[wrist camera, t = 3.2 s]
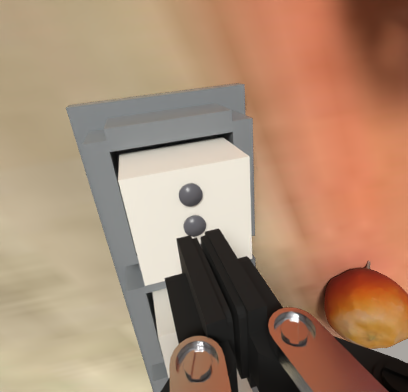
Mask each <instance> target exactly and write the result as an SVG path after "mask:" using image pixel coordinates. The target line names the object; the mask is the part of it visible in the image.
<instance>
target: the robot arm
mask: <svg viewBox="0 0 408 392" xmlns="http://www.w3.org/2000/svg"><path fill="white" fill-rule="evenodd" d="M200 239H201V246H200V243H199V241H198V239H197V238H192V237H191V235H189V236H185V237H180V238H177V239H176V240H177V246H178V252H179V258H180V264H181V270H182V273H181V274H178V275H174V276H170V277H166V278H165V283H166V288H167V292H168V297H169V302H170V306H171V311H172V316H173V320H174V325H175V330H176V334H177V339H178V344H179V345H178V346H177V347H176V348H175V349H174V351H173V353H172V355H171V358H170V365H169V372H170V377H169V379H168V381H167V382H166V384H165V385H164V387H163V389H162V390H161V392H238V380H237V371H238V373H239V376H240V378H241V379H244V378H247V380H248V383H249V385H250V387H251V388H253V387H256V386H257V389H258V391H259V392H408V363H405V362H403V361H401V360H399V359H397V358H394V357H391V356H388V355H385V354H382V353H380V352H377V351H374V350H371V349H368V348H365V347H363V346H360V345H357V344H354V343H351V342H348V341H346V340H343V339H340V338H337V337H334V336H332V335H331V334H330V333H329V332H328V331H327V330H326V329H325V328H324V327H323V326H322V325H321V324H320V323H319V322H318V321H317V320H316V319H315V318H314V317H313V316H312V315H311V314H309V313H308V312H306V311H304V310H302V309H298V308H293V307H289V308H283V307H282V306H281V304H280V303H279V301H278V300H277V298H276V297H275V295H274V294H273V292H272V291H271V290H270V288H269V287H268V285H267V284H266V282H265V281H264V279H263V278H262V276H261V275H260V273H259V272H258V270H257V269H256V267H255V266H254V264H253V263H252V261H251V260H250V259H249V258H248V257H247V256H245V257H241V258H237V256H236V255H235V253H234V252H233V250H232V248H231V247H230V245H229V243H228V242H227V240H226V239H225V237H224V235H223V234H222V232H221V231H220V229H219V228H218V229H214V230H210V231H205V236H201V238H200ZM201 247H202V248H201Z"/></svg>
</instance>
